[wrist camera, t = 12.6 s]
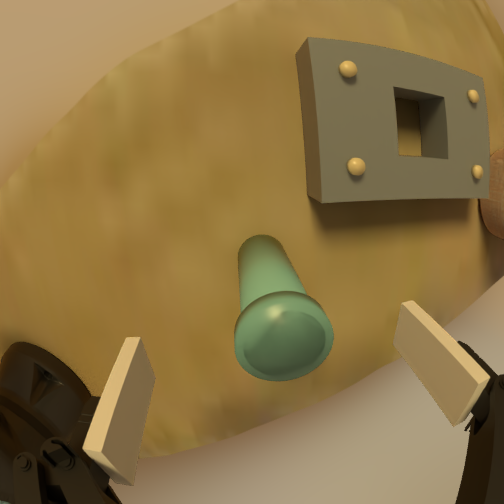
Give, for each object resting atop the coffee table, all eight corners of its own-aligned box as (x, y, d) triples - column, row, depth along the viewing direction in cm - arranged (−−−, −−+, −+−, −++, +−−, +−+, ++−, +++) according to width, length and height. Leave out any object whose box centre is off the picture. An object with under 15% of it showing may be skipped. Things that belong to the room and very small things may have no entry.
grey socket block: (307, 194, 23) (324, 204, 18) (295, 54, 19) (309, 34, 14) (463, 190, 23) (492, 199, 19) (457, 81, 19) (486, 77, 15)
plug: (236, 285, 25) (240, 385, 14) (230, 232, 23) (228, 309, 12) (290, 279, 25) (329, 373, 14) (288, 227, 24) (336, 296, 12)
